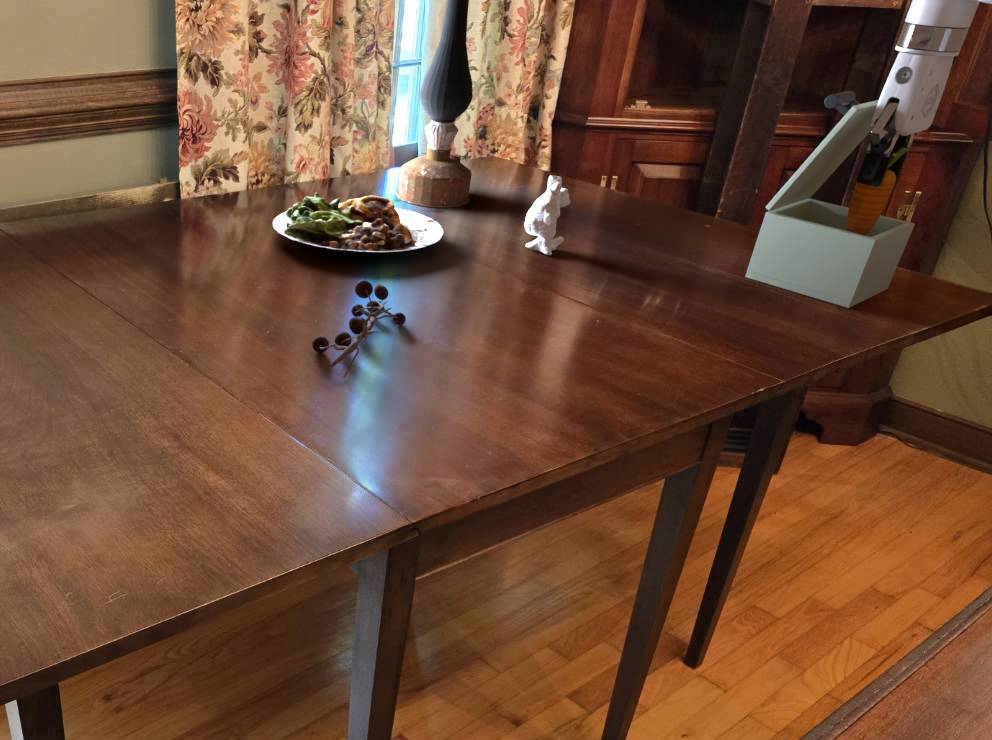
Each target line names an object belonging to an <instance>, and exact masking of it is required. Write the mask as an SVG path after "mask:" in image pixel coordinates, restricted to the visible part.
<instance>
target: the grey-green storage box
mask: <svg viewBox="0 0 992 740" xmlns="http://www.w3.org/2000/svg"><path fill="white" fill-rule="evenodd" d="M848 211H849V207H847V206H842V205H838V204H834V203H830V202H826V201H822V200H818V199H814V198H811V197H809V198H806V199H803V200H800V201H797V202H793V203H790V204H787V205H784V206H781V207H778V208H775V209H772V210H768V211H765V214H764V217H763V221H762V224H761V227H760V229H759V231H758V236H757V238H756V241H755V245H754V248H753V251H752V254H751V257H750V260H749V263H748V266H747V269H746V274H745V276H744V277H745V278H747V279H750V280H754V281H757V282H759V283H764V284H767V285H770V286H773V287H776V288H780V289H783V290H787V291H790V292H793V293H797V294H799V295H803V296H807V297H809V298H813V299H817V300H820V301H823V302H827V303H829V304H834V305H836V306H839V307H842V308H846V309H850V308H852V307H854V306H856V305H858V304H860V303H861V302H862V303H863V302H864V301H866V300H869V299H870V298H873V297H874V296H876V295H878V294H881V293H882V292H884V291H887V290H888V289H889V287H890V285H891V282H892V280H893V278H894V276H895V273H896V271H897V268H898V265H899V263H900V261H901V258H902V256H903V253H904V251H905V249H906V246H907V244H908V242H909V239H910V236H911V235H912V232H913V229H914V227H915V225H916V224H915V223H914V222H910V221H907V220H902V219H897V218H893V217H889V216H885V215H882V214H881V215H880V216H879V218H878V220H877V221H876V223H875V224H874V226H873V228H872V229H871V230H870V232H869V233H868V234H867V235H866V236H865V235H861V234H857V233H853V232H849V231H846V223H847V217H848Z"/></svg>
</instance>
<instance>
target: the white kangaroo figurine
mask: <svg viewBox="0 0 992 740" xmlns="http://www.w3.org/2000/svg"><path fill="white" fill-rule="evenodd" d="M562 180H563V179H562V176H557V175H553V174H550V175H549V176H548V179H547V188H546V191H545V192H544V193H543V194H542V195H541V196H539V197H538V198H537V199H536V200H535V201H534V202H533V204H532V206H531V207H530V208H529V209H528V211H527V213H526V216H525V221H524V229H525V232H526V233H527V234H529V235H531V236H535V237H536V236H537V237H536V239H534V240H532V241H529V242H526V244H525V248H527V249H530V250H534V251H538V252H540V253H543V254H544V255H546V256H552V254H553V253H552V251H556V250H557V249H558V247H559V246H560V245H561V244H562V243H563V242H565V238H564V237H563V236H558V237H555V236H556V233H557V229H556V228H557V222H558V218H560V216H561V208H566V207H569V206H570V204H571V199H570V193H569V188H565V187H563V181H562Z"/></svg>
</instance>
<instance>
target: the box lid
mask: <svg viewBox="0 0 992 740" xmlns="http://www.w3.org/2000/svg"><path fill="white" fill-rule="evenodd" d="M856 98H857V97H856V93H855V92H854V91H853V90H847V91H842V92H837V93H833V94H832V93H831V94H829V95H828V96H826V97H825V99H824V103H823V104H824V107H826V108H827V109H835V110H837V111H838V112H839V113H840V114H841V115H843V117H842V118H841V119H840V120H839V122H838V123H836V125H835V126H834V127H833V128H832V129H831V130H830V132H829V133H828V134H827V135H826V137H825V138H824V139H823V140H822V141H821V142H820V143H819V145H818V146H817V147H816V148H815V149H814V151H812V153H810V155H809V156H808V157H807V158H806V160H805V161H804V162H803V163H802V164H801V165H800V166H799V168H798V169H797V170H796V171H795V172H794V173H793V174H792V176H791V177H790V178H789V179H788V181H786V182H785V184H784V185H783V186H782V187H781V188H780V190H779V191H778V192H777V193H776V194H775V195H774V196H773V197H772V199H771V200H770V201H769V202H768V203H767V204H766V206H765V209H766V210H768V211H772V210H775V209H778V208H781V207H784V206H787V205H790V204H793V203H796V202H799V201H802V200H805V199H808V198H811V197H813V195H814V194H815V193H816V192H817V191H818V190H819V189H820V188H821V186H823V184H824V183H825V182H826V181H827V180H828V179H829V178H830V177H831V175H832V174H833V173H834V172H835V171H836V170H837V169H838V168H839V167H840V166H841V164H842V163H843V162H844V161H846V159H847V158H848V157H849V156H850V154H851V153H852V152H853V151H854V150H855V149H856V148H857V147H858V146H859V145H860V144H861V142H862V141H863V140H864V139H865V138H866V137H867V136H868V135H869V134H870V133H871V131H872V127H871V121H872V118H873V114H874V111H875V109H876V106H877V103H878V101H879V99H877V100H872V101H868V102H864V103H860V102H859V101H858V100H857V99H856ZM848 105H850V106H851V108H850V109H848V108H847V107H846V106H848Z"/></svg>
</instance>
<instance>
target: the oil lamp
mask: <svg viewBox="0 0 992 740" xmlns="http://www.w3.org/2000/svg"><path fill="white" fill-rule="evenodd" d="M469 4H470V0H446V7H445V13H444V19H443V24H442V29H441V33H440V37H439V41H438V44H437V46H436V49H435V52H434V54H433V57H432V60H431V62H430V65H429V67H428V68H427V71H426V72H425V75H424V77H423V80H422V82H421V86H420V89H419V95H418V96H419V101H420V105H421V106H422V108H423V110H424V112H425V113H426V114H427V115H428V116H429V119H430V122H429V123H428V124H427V125H425V127H424V130H425V135H426V139H427V142H428V143H427V146H426V152H422V151H421V152H420V154H421V155H420V156H417V157H415V158H413V159H411V160H409V161H408V162H407V161H406V162H405V163H404V164H403V165H401V167H400V174H399V184H398V190H397V191H396V197H397V198H398V199H399V200H401V201H403V202H405V203H408V204H411V205H415V206H420V207H427V208H439V209H440V208H441V209H442V208H457V207H461V206H464V205H467V204H468V203H469V201H470V196H469V194H470V187H471V183H472V182H471V181H472V171H471V169H470V168H468V166H466V165H464V164H463V163H462V162H461V161H462V158H463V159H465V162H468V160H469V159H468V157H469V152H466V154H465V155H461V154H459V153H451V151H452V144H453V142H454V140H455V138H456V136H457V134H458V132H459V128H458V127H457V126H456V124H455V122H456V121H457V119H458V118H459V117H460V116H462V115H463V114H464V113H465V112H466V111H467V110H468V108H469V107H470V105H471V103H472V101H473V98H474V95H473V94H474V92H473V89H474V87H473V78H472V75H471V70H470V63H469V55H468V47H467V35H468V34H467V32H468V16H469V6H470V5H469ZM422 154H423V155H422Z"/></svg>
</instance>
